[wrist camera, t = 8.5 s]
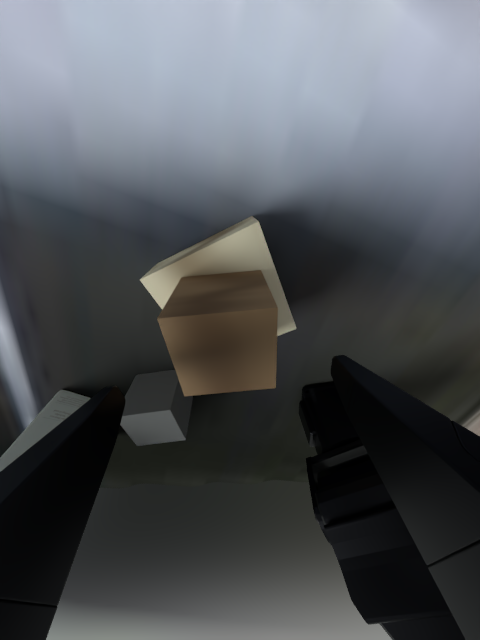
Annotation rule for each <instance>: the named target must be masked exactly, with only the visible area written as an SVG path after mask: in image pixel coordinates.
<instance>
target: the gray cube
mask: <svg viewBox="0 0 480 640" xmlns="http://www.w3.org/2000/svg"><path fill="white" fill-rule="evenodd" d="M125 399H126V403H125V408H124V412H123V416H122V420H121V424H120V425H121V426H122V428H123V429H124V430H125V431H126V433H127V434H128V435H129V436H130V438H131V439H132V440H133V441H134V443H135V444H136V445H137V446H141V445H149V444H157V443H165V442H172V441H180V440H186V436H187V430H188V424H189V418H190V413H191V407H192V401H193V396H184V394H183V391H182V388H181V385H180V382H179V379H178V376H177V374H176V371H175V370H168V371H160V372H153V373H145V374H138V375H136V376H135V378H134V380H133V382H132V384H131V386H130V388H129V390H128V392H127V393H126V395H125Z"/></svg>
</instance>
